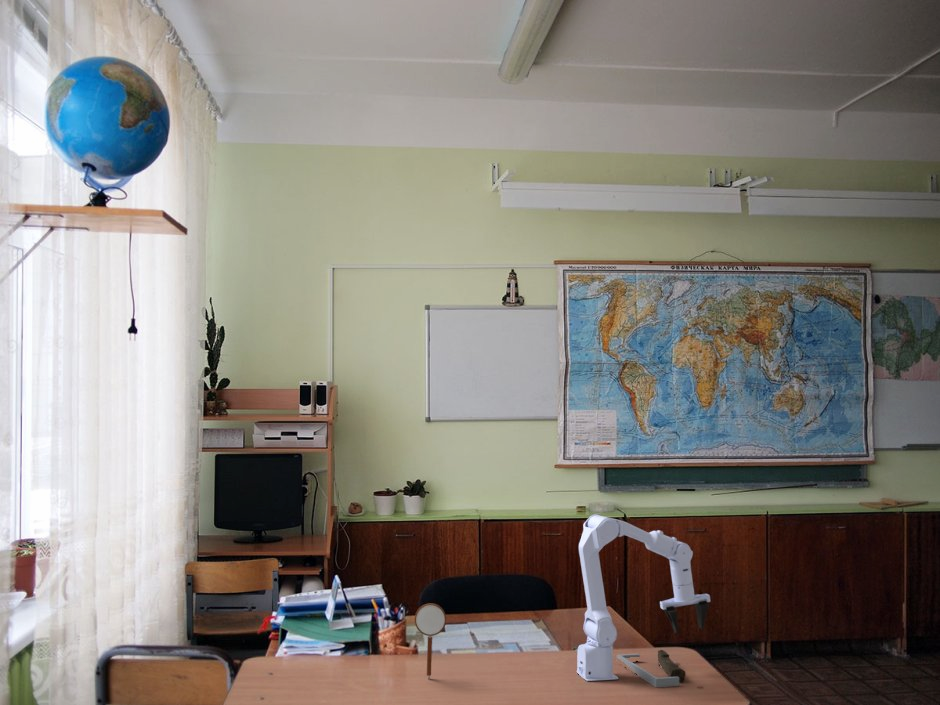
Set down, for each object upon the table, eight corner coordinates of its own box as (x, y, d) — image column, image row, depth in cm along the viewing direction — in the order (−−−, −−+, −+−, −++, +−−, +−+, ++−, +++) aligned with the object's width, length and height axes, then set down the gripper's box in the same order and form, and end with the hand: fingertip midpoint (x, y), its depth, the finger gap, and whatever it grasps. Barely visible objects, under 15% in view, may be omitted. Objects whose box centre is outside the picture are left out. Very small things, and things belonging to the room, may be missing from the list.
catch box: (655, 687, 221) (655, 678, 221) (616, 662, 244) (616, 654, 244) (679, 685, 223) (679, 677, 223) (637, 661, 246) (638, 653, 246)
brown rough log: (685, 684, 226) (685, 666, 226) (671, 683, 226) (671, 666, 226) (668, 664, 245) (668, 648, 245) (655, 664, 245) (655, 648, 245)
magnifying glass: (444, 678, 224) (446, 603, 226) (444, 680, 223) (446, 604, 225) (413, 677, 225) (415, 602, 226) (412, 679, 223) (414, 603, 225)
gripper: (700, 576, 244) (706, 622, 243) (653, 584, 242) (660, 630, 241) (710, 581, 237) (717, 629, 236) (662, 589, 235) (669, 637, 234)
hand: (689, 630), depth 238 cm, fingers open, 7 cm apart
